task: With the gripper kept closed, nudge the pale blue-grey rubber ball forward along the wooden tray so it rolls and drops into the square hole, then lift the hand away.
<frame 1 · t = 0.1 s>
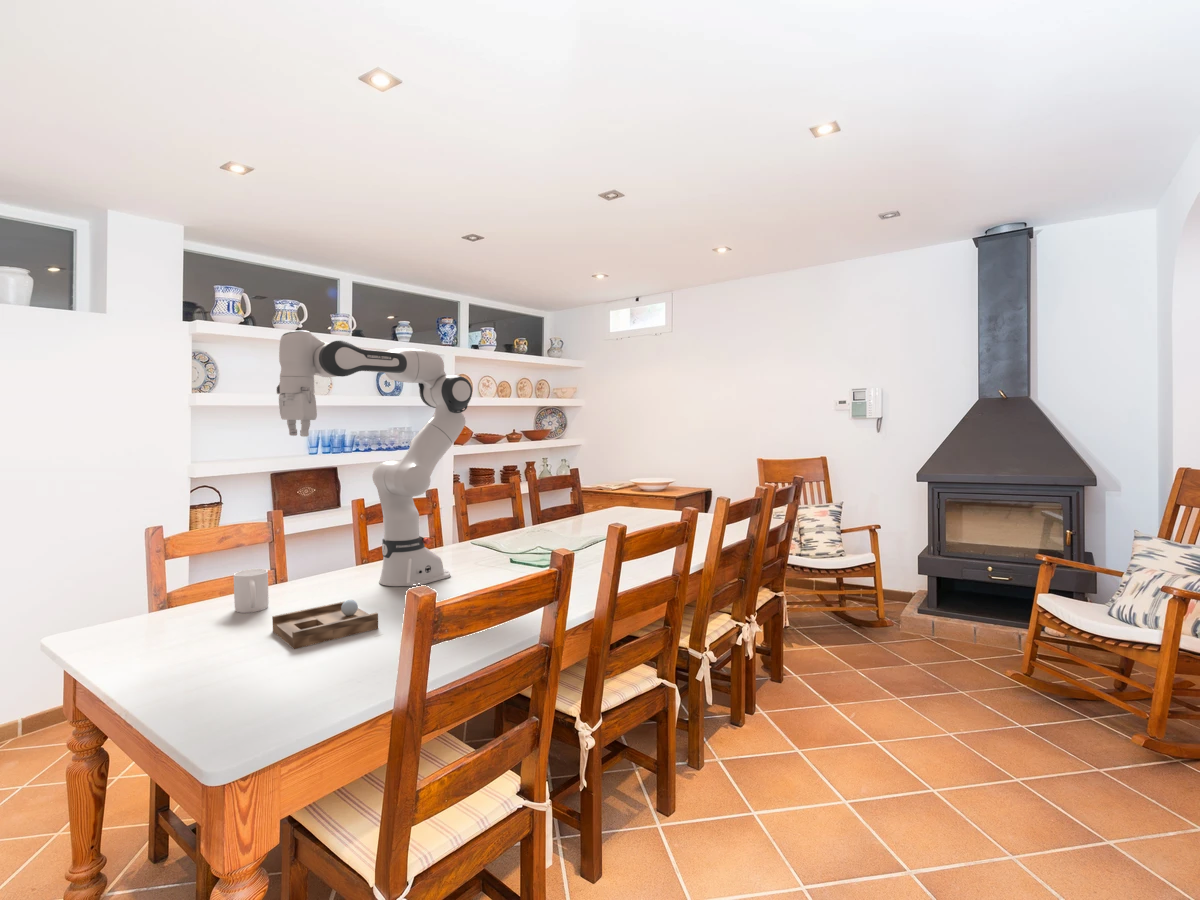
hand: (298, 436, 177), 48 cm above the table, fingers open, 8 cm apart
mug: (252, 611, 171), on the table
ball: (349, 615, 159), point 2 cm above the table, touching wooden tray
wooden tray: (325, 630, 155), on the table
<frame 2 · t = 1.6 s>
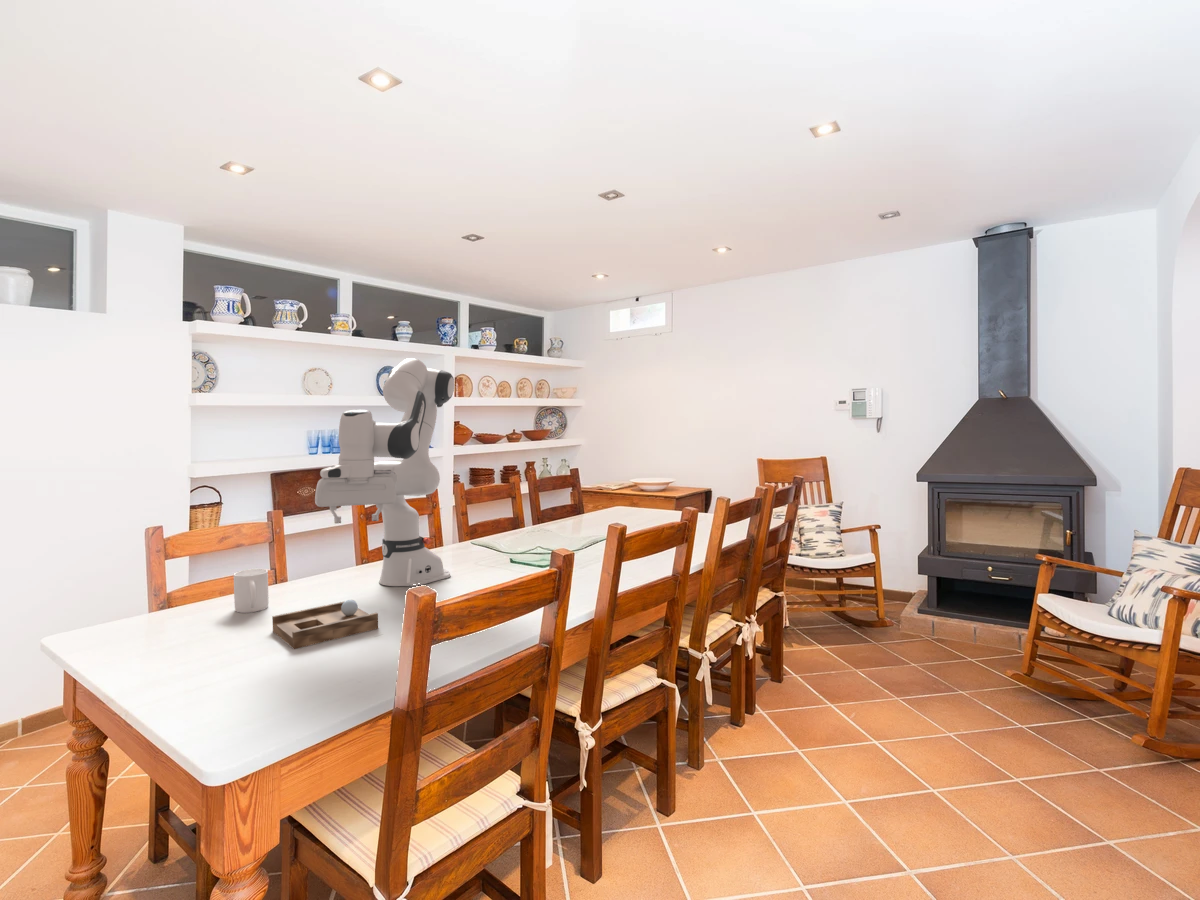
hand: (356, 522, 165), 25 cm above the table, fingers open, 8 cm apart
nothing on the table moved.
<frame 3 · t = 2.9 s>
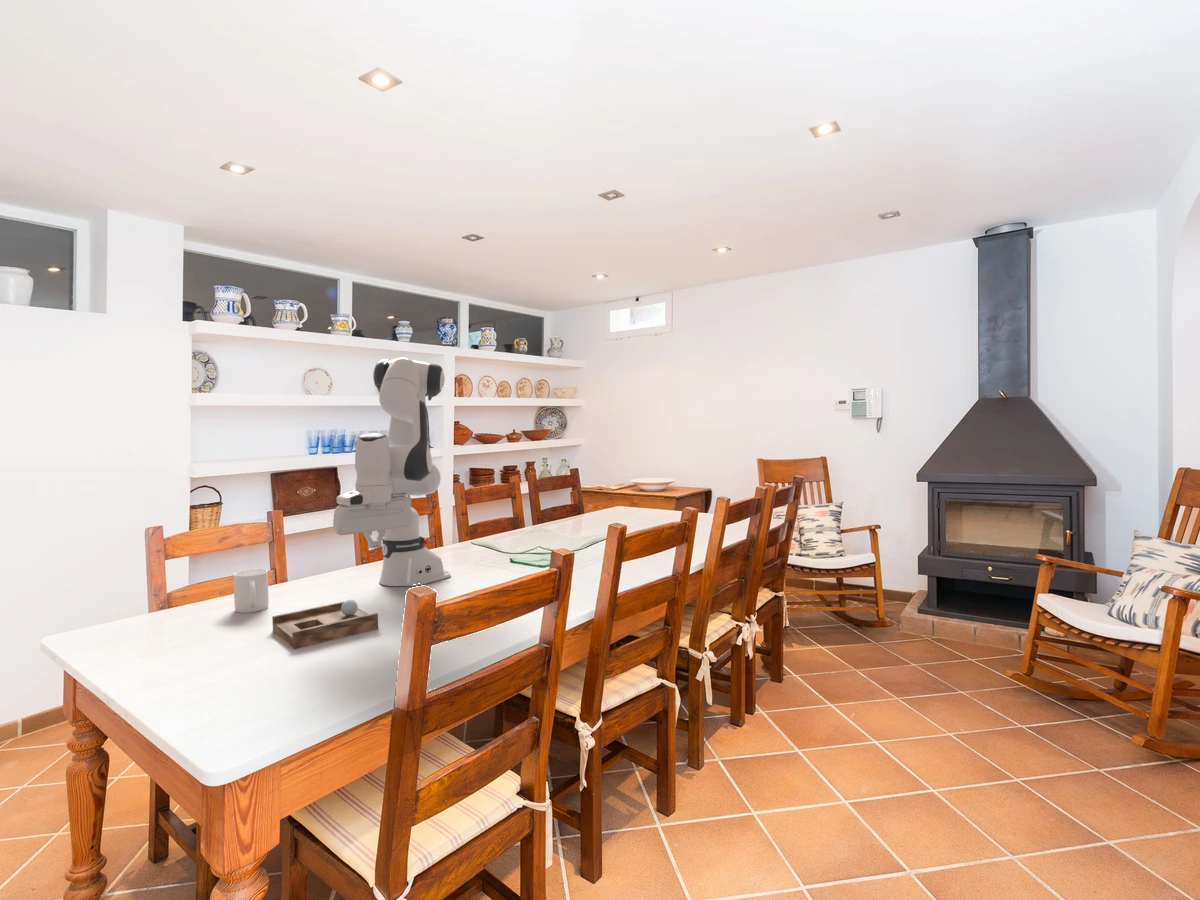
hand: (374, 547, 163), 19 cm above the table, fingers closed
nothing on the table moved.
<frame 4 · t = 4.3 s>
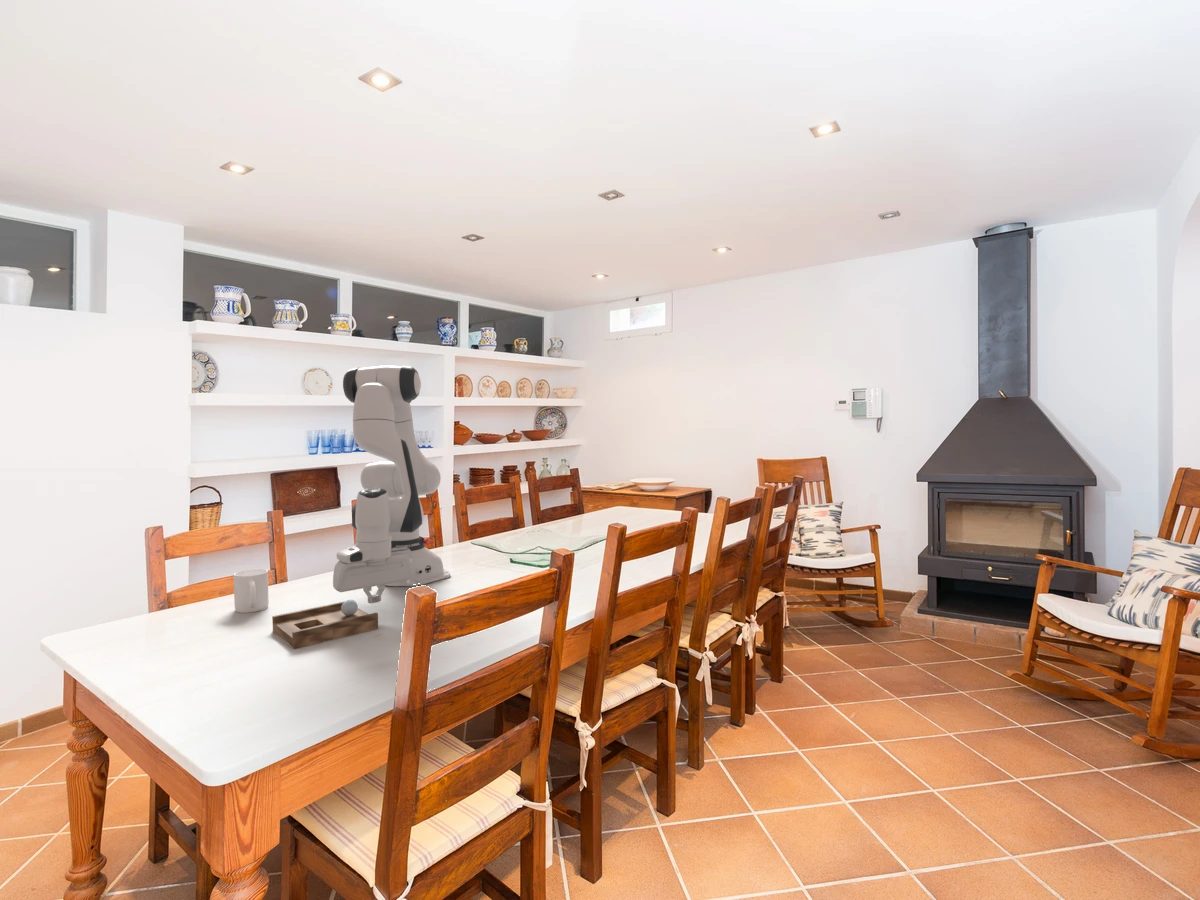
hand: (374, 602, 163), 4 cm above the table, fingers closed
nothing on the table moved.
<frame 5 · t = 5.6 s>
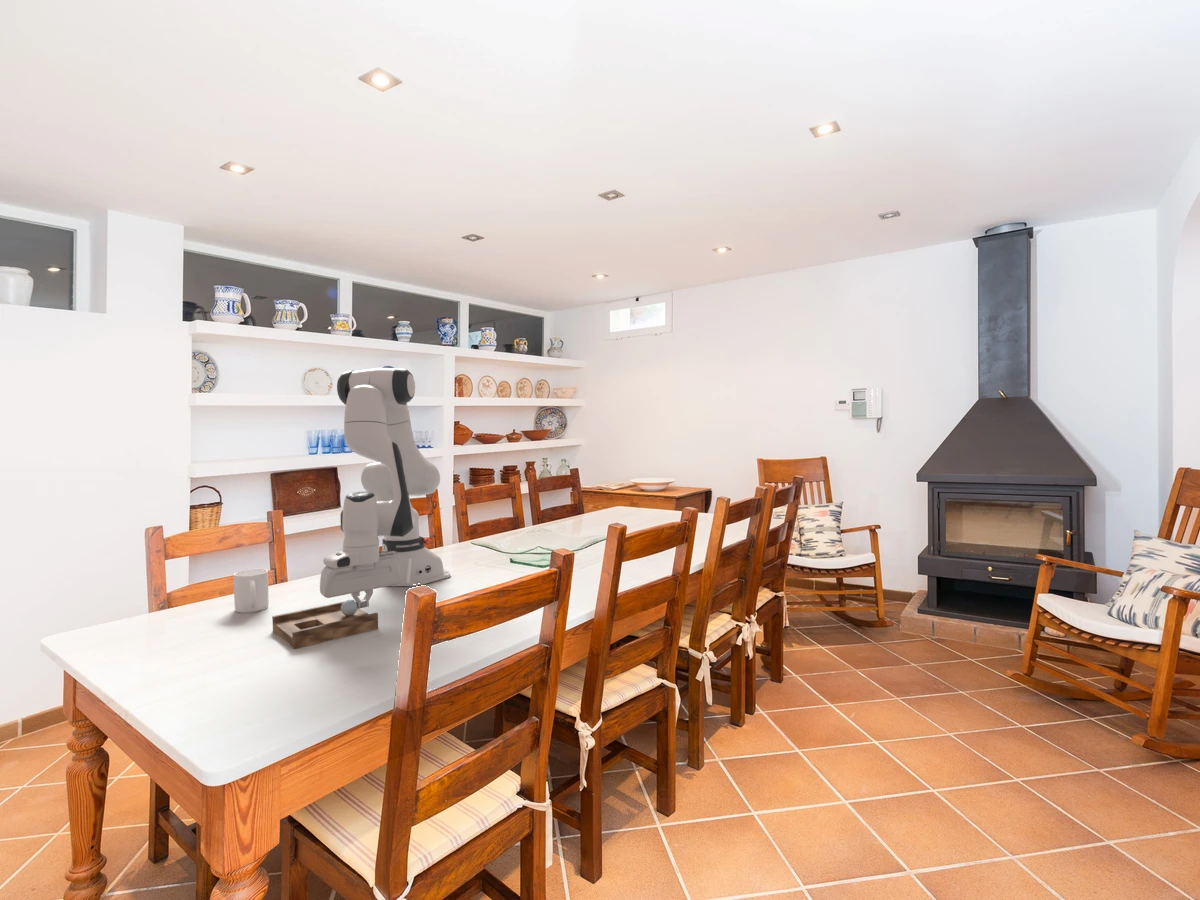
hand: (362, 607, 161), 4 cm above the table, fingers closed
ball: (349, 615, 159), point 2 cm above the table, touching wooden tray, gripper
everything else where it was.
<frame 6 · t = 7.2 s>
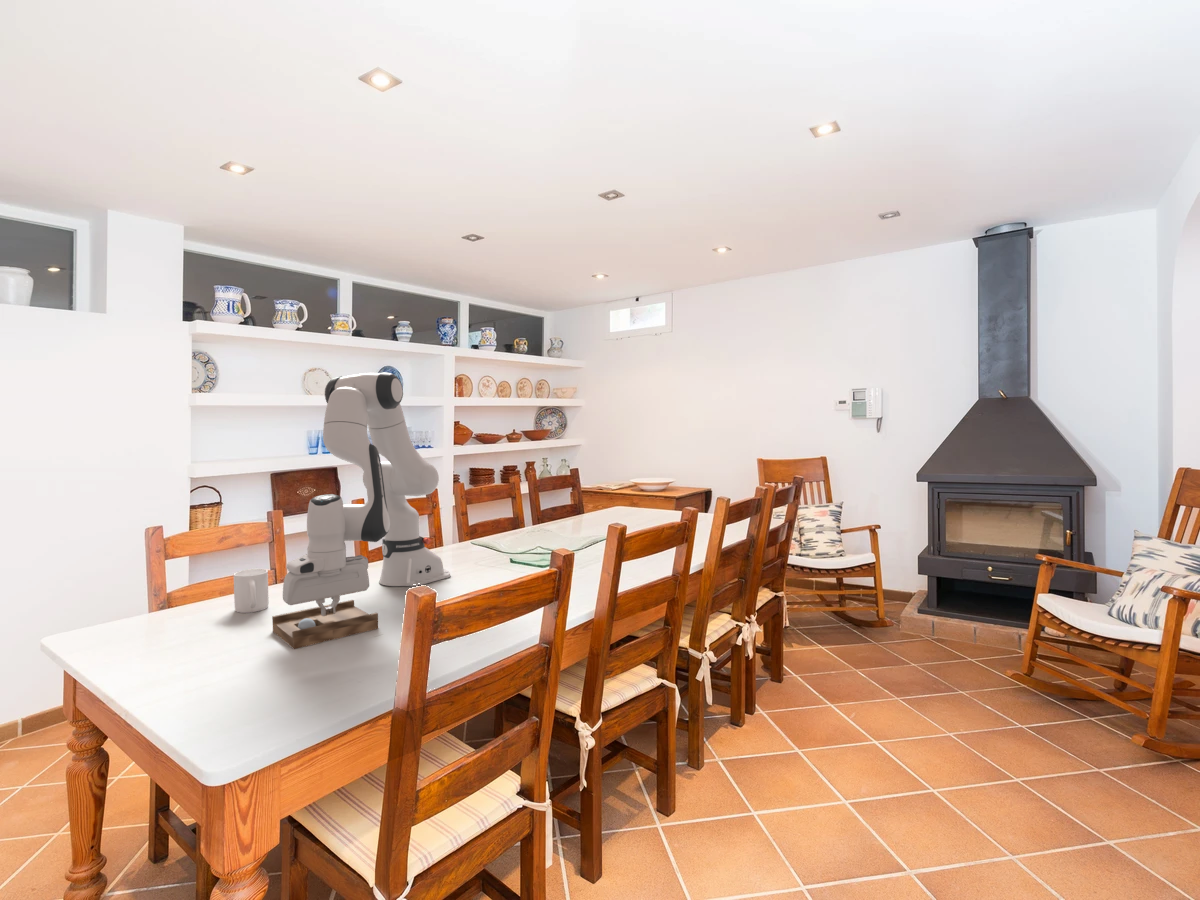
hand: (328, 614, 155), 4 cm above the table, fingers closed
ball: (303, 634, 151), resting in wooden tray, tilted 25°
everything else where it was.
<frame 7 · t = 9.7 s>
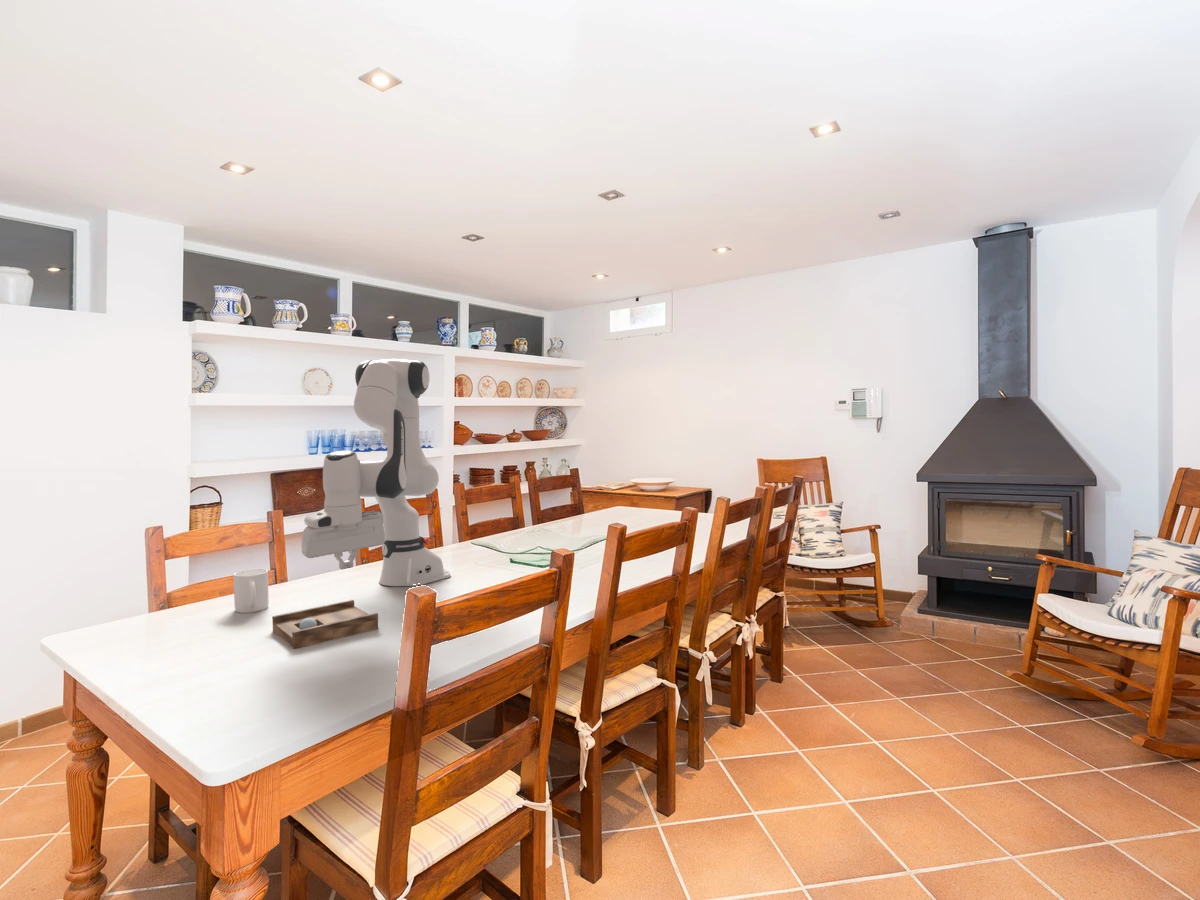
hand: (346, 568, 158), 15 cm above the table, fingers closed
ball: (303, 634, 151), resting in wooden tray, tilted 36°
everything else where it was.
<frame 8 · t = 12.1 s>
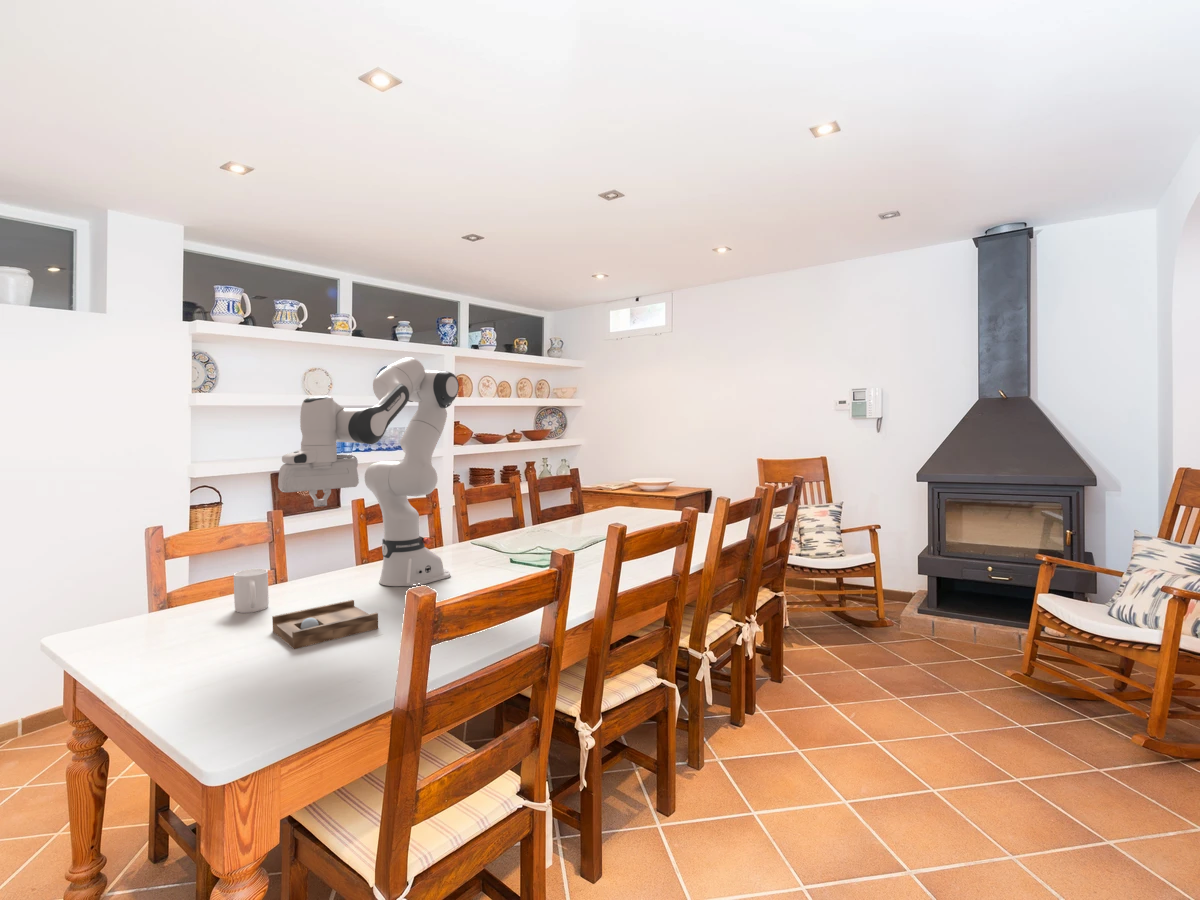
hand: (320, 506, 168), 29 cm above the table, fingers closed
ball: (303, 633, 151), point 1 cm above the table, tilted 46°
everything else where it was.
at the end: ball 1.3 cm from the target spot on the wooden tray, point 0.6 cm above the wooden tray's base; ball point 0.6 cm above the table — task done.
